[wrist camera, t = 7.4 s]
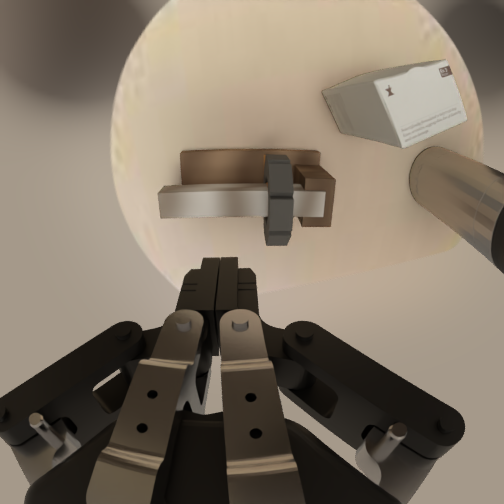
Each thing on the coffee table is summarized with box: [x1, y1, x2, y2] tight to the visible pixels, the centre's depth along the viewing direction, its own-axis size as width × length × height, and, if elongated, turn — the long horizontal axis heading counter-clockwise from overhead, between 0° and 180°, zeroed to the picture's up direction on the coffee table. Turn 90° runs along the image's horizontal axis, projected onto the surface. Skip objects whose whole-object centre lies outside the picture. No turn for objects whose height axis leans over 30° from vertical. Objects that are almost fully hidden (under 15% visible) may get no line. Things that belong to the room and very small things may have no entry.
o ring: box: [263, 154, 294, 246], centre depth 29 cm, size 2×9×9 cm, turn 179°
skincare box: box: [322, 59, 467, 149], centre depth 24 cm, size 8×6×15 cm
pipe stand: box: [158, 149, 336, 227], centre depth 31 cm, size 17×8×8 cm, turn 90°
